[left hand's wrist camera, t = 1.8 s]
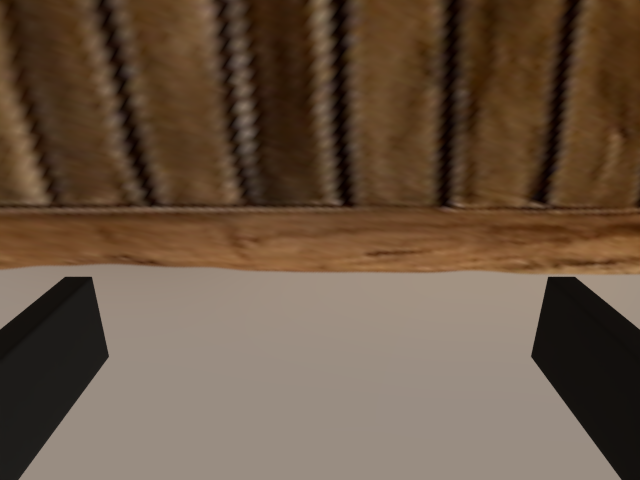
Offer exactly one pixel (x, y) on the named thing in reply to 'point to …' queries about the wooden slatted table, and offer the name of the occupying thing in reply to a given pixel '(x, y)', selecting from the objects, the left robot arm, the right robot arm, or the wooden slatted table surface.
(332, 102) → the wooden slatted table surface
